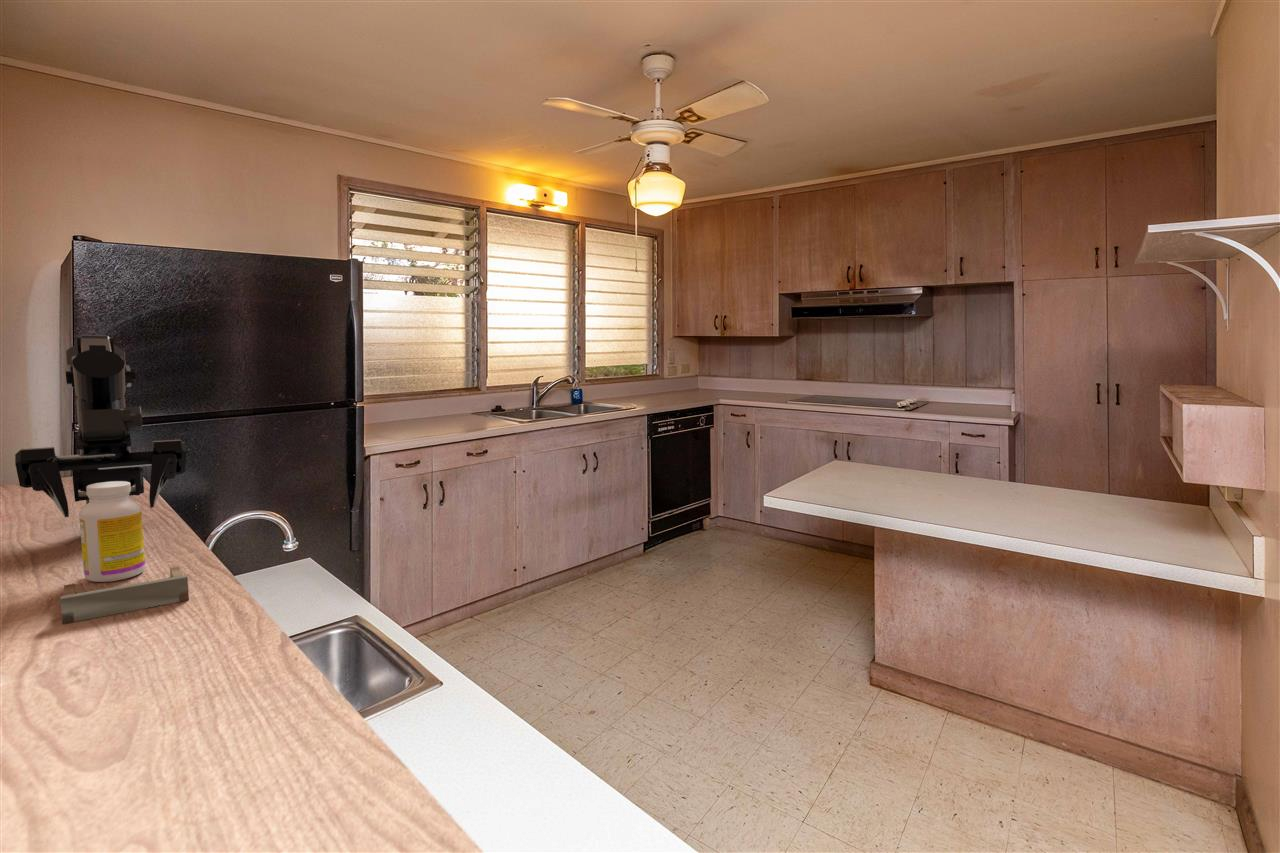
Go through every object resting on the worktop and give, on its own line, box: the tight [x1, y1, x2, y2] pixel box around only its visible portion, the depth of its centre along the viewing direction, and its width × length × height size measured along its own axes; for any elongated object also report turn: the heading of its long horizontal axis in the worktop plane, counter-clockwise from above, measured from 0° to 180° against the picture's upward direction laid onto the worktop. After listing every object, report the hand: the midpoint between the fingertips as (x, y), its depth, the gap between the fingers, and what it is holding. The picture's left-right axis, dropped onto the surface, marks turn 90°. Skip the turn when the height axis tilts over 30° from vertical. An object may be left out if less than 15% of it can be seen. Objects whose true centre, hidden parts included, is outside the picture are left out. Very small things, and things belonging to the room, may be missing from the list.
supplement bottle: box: [78, 481, 146, 583], centre depth 90 cm, size 7×7×13 cm
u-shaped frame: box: [59, 566, 190, 625], centre depth 83 cm, size 11×12×3 cm
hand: (110, 510), depth 90 cm, fingers open, 9 cm apart
